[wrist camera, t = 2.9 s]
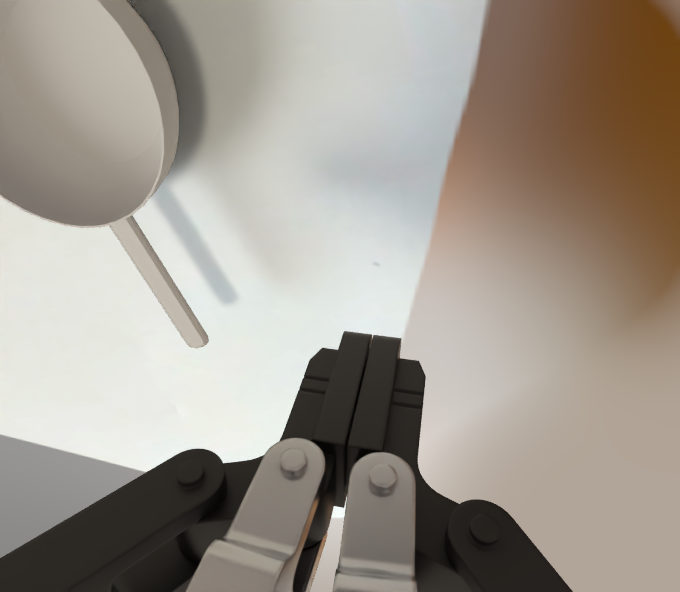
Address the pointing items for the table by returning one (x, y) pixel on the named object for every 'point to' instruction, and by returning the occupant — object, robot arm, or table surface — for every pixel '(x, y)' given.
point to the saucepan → (89, 125)
